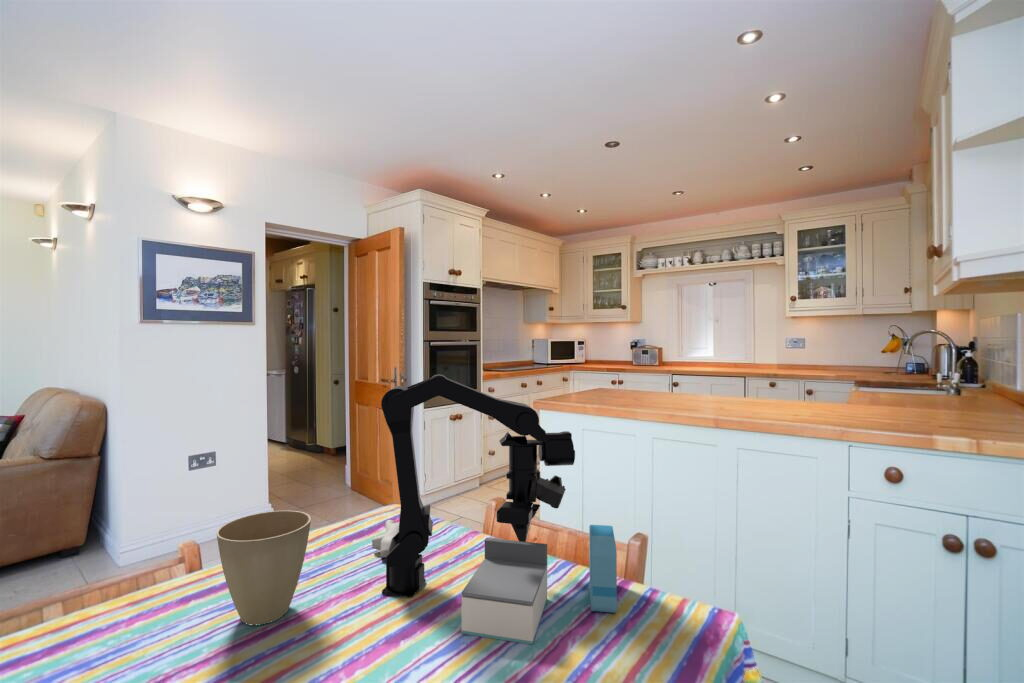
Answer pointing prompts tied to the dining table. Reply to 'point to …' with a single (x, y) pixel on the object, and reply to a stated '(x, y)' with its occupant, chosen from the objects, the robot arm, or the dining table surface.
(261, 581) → the plant pot
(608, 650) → the dining table surface
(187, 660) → the dining table surface
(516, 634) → the box
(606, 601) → the data package
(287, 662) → the dining table surface
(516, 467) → the robot arm
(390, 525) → the bunny figurine
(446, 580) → the dining table surface
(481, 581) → the lid
